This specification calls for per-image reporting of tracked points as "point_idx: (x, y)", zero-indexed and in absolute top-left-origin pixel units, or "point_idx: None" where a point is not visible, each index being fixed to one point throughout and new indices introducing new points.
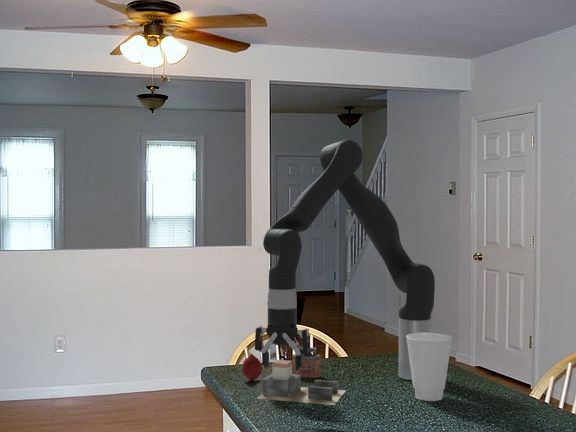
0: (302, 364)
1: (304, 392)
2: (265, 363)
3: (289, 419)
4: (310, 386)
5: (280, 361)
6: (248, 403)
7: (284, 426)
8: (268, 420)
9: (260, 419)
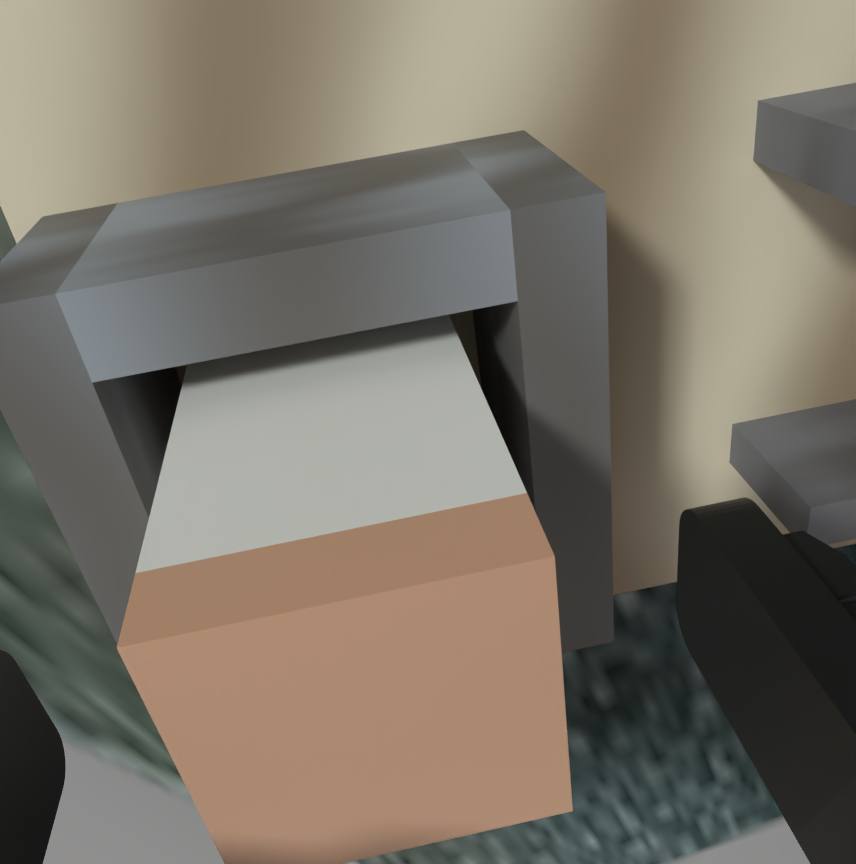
0: (846, 559)
1: (618, 234)
2: (20, 848)
3: (646, 769)
4: (830, 516)
5: (311, 727)
6: (114, 646)
7: (655, 858)
8: (516, 838)
9: (455, 848)
